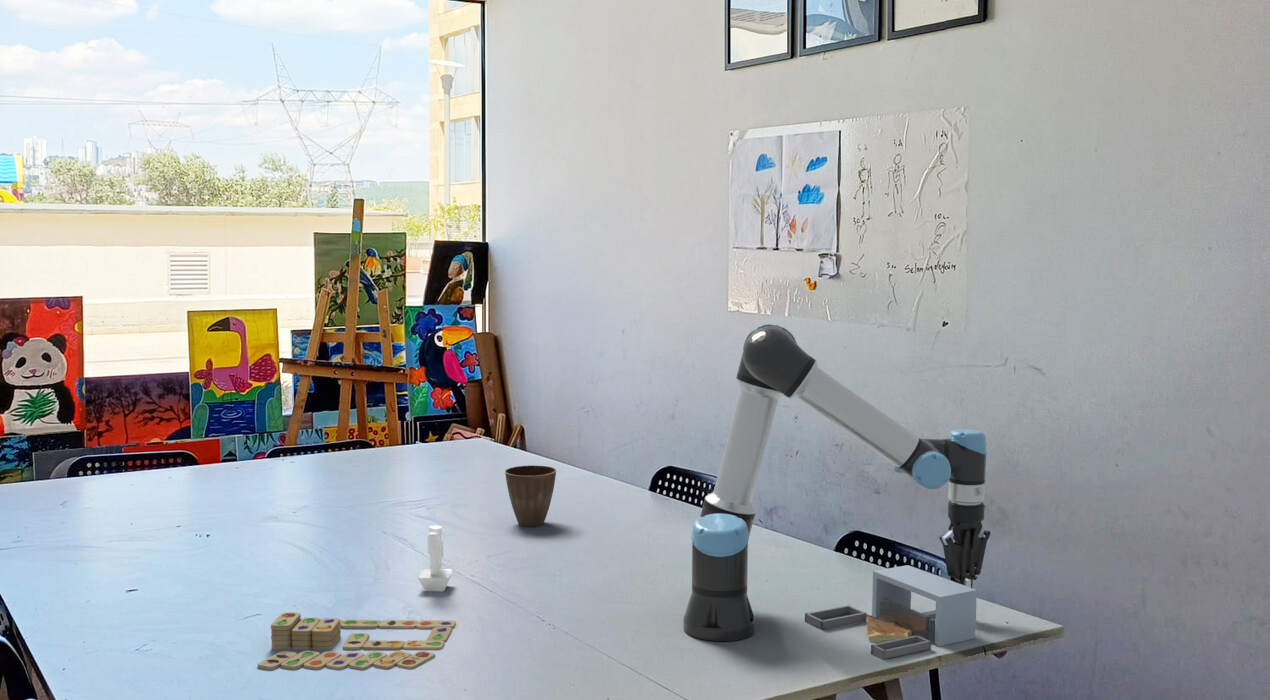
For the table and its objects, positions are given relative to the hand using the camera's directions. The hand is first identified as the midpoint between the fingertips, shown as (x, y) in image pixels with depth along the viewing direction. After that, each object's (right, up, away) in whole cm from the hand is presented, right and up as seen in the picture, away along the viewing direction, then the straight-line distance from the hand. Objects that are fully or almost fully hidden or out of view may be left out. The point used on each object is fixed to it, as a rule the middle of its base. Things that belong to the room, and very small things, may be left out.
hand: (963, 607), depth 237 cm
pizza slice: (-21, -4, -10) cm, 23 cm away
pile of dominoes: (-127, -4, -17) cm, 128 cm away
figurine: (-118, 0, +20) cm, 120 cm away
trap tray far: (-28, -2, -2) cm, 28 cm away
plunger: (-9, -3, -4) cm, 10 cm away
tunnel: (-10, -3, -5) cm, 12 cm away
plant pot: (-102, +5, +82) cm, 131 cm away
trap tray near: (-18, -4, -20) cm, 27 cm away
